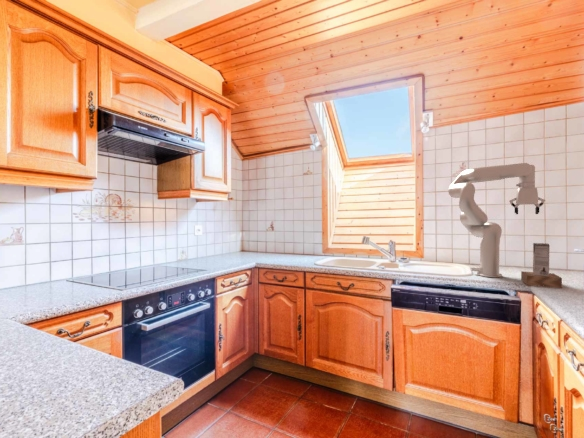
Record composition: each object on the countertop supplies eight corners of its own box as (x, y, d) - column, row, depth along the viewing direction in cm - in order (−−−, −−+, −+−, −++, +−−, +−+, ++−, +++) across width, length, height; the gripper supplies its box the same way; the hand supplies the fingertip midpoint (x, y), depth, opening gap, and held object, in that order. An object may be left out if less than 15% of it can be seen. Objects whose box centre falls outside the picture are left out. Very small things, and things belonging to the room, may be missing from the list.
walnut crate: (526, 285, 158) (526, 275, 158) (521, 280, 169) (521, 271, 169) (561, 288, 151) (561, 278, 151) (553, 282, 163) (553, 273, 163)
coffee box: (532, 272, 166) (532, 242, 166) (547, 273, 162) (548, 243, 162) (533, 275, 158) (533, 244, 158) (549, 276, 155) (550, 244, 154)
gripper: (510, 185, 185) (510, 214, 185) (546, 184, 177) (546, 214, 177) (508, 186, 192) (508, 214, 192) (543, 185, 184) (543, 214, 184)
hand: (526, 214), depth 185 cm, fingers open, 9 cm apart
